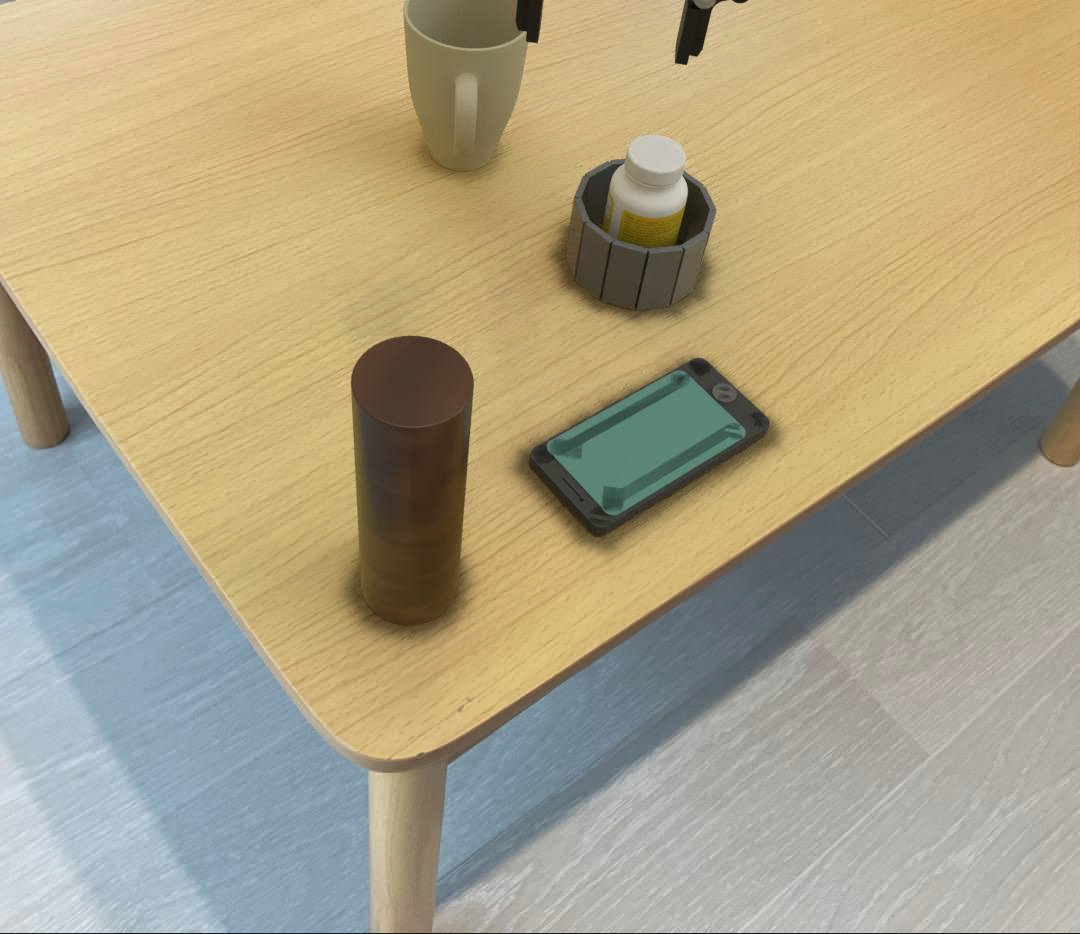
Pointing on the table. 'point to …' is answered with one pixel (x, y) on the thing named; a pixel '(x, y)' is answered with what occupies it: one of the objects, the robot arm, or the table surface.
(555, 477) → the smartphone
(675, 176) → the supplement bottle
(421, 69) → the mug
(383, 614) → the brown metal stand
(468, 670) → the table surface
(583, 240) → the grey ring
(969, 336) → the table surface
